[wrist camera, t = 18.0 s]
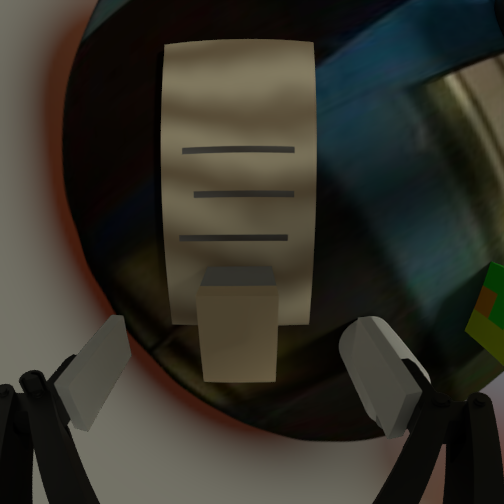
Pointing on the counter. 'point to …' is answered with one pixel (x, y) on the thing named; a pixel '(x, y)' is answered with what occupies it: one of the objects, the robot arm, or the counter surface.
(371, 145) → the counter surface
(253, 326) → the block
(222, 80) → the board
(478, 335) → the puzzle toy
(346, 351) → the can
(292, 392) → the counter surface
